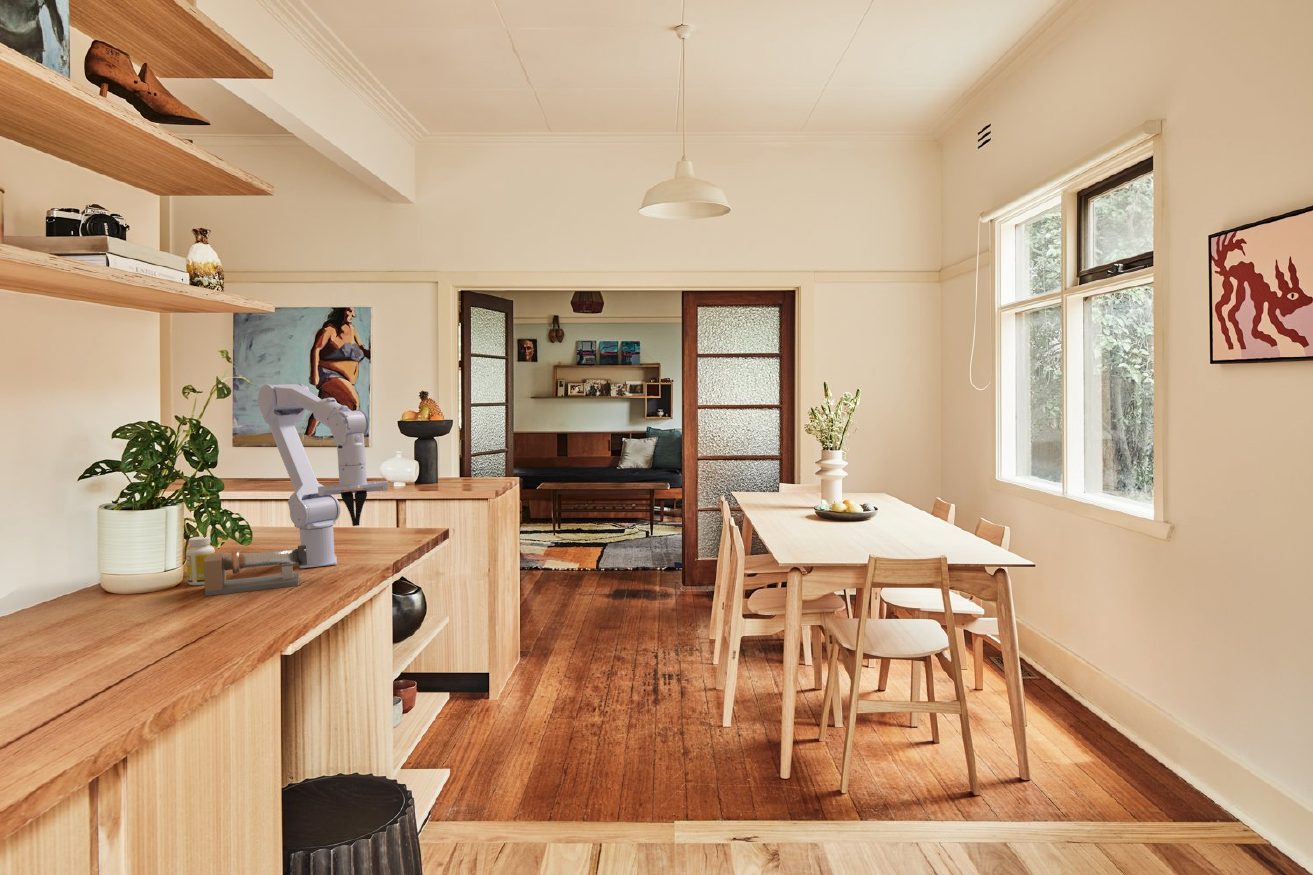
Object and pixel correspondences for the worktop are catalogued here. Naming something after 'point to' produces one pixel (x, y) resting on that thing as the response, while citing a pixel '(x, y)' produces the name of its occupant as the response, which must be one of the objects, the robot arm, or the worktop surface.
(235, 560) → the shaft
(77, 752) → the worktop surface
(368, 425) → the robot arm
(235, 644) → the worktop surface
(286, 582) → the shaft stand
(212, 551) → the supplement bottle
